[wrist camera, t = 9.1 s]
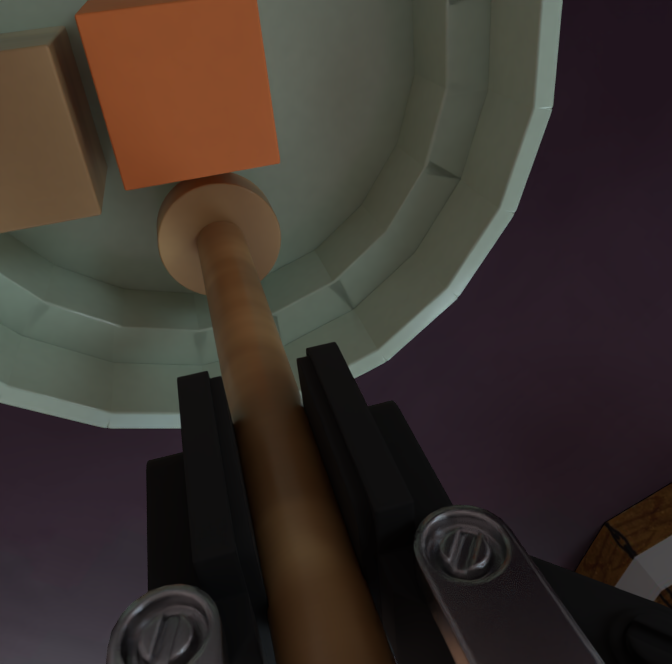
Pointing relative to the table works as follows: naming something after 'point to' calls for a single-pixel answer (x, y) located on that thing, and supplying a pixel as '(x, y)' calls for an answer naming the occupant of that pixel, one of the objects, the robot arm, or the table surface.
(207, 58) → the orange block
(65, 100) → the maple block
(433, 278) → the stir bowl
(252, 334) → the stirrer
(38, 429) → the table surface
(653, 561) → the mug
